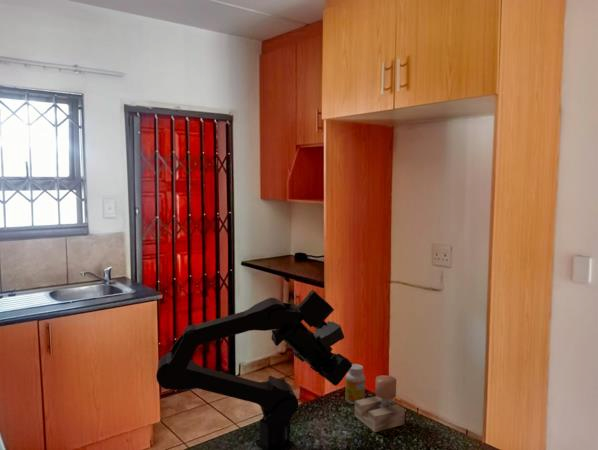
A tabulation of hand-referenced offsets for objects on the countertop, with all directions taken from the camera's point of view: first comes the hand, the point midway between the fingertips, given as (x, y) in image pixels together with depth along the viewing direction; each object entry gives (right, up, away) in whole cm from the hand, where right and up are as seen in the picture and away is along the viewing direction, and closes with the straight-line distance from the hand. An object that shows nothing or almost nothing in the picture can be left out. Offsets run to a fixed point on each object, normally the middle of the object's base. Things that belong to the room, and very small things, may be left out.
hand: (341, 378), depth 113 cm
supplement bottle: (+5, -12, +17) cm, 21 cm away
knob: (+12, -11, +7) cm, 17 cm away
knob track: (+10, -13, +6) cm, 17 cm away
